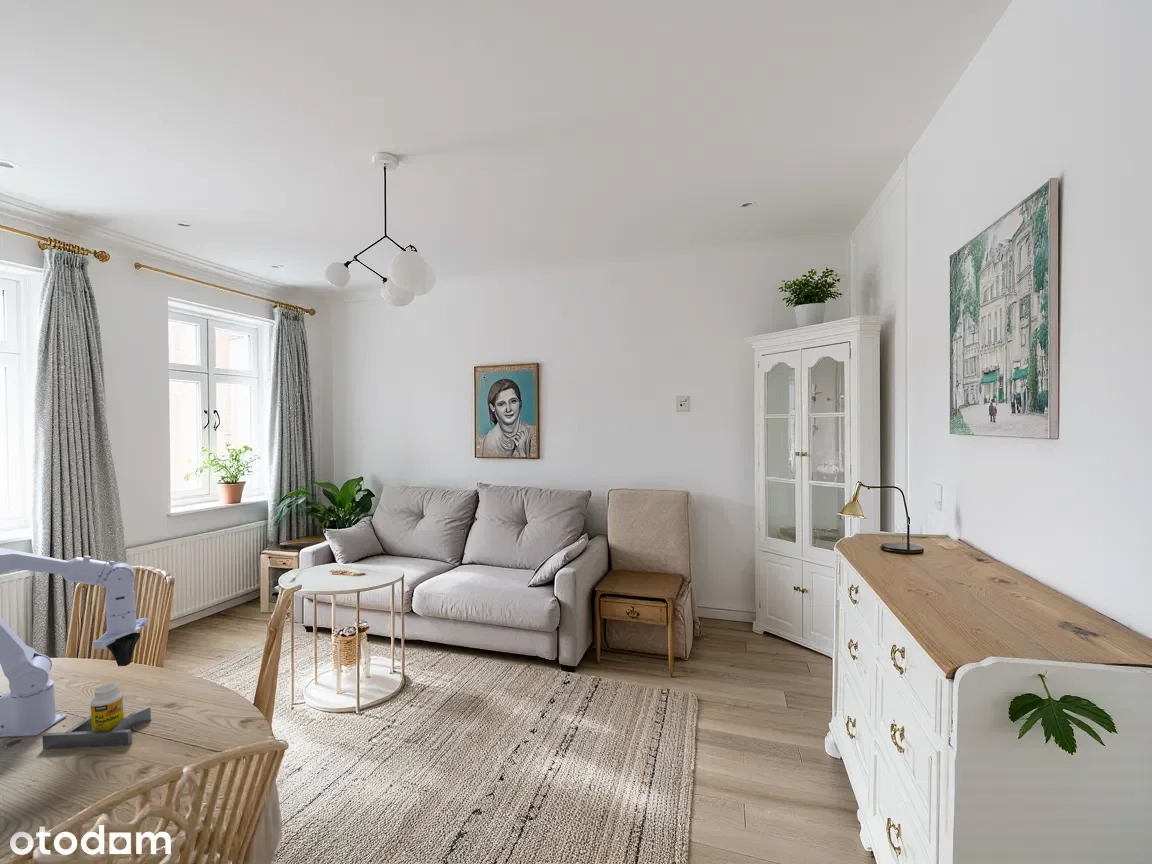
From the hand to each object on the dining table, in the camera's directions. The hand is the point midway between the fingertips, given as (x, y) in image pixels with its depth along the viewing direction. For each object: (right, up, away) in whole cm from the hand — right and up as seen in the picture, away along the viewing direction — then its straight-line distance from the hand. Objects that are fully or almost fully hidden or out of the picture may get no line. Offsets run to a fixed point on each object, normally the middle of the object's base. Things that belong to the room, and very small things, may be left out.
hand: (124, 664), depth 136 cm
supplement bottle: (+7, -10, -12) cm, 17 cm away
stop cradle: (+7, -10, -13) cm, 18 cm away
